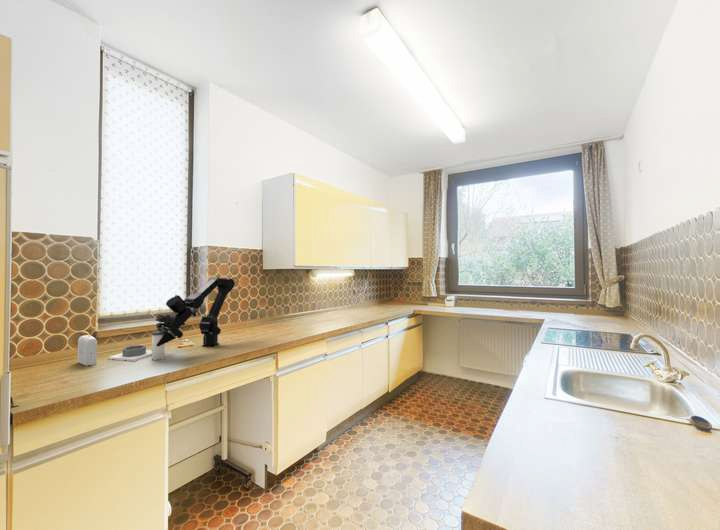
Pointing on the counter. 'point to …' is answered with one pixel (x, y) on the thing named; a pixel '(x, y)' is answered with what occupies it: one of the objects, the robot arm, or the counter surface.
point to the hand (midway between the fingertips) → (154, 345)
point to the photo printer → (87, 350)
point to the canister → (157, 351)
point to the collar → (132, 353)
